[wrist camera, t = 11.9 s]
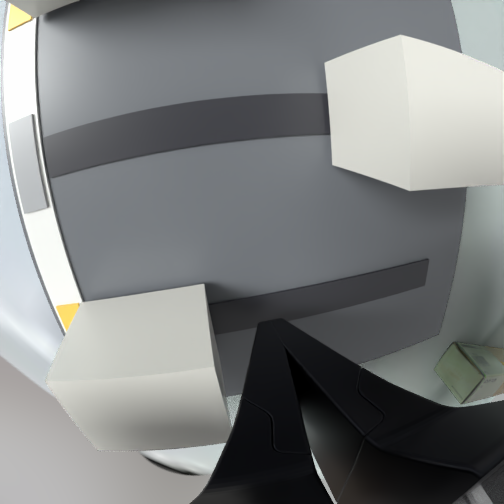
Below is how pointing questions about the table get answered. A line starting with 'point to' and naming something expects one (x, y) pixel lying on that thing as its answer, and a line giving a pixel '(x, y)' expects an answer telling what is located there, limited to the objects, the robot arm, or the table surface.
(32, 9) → the switch tab
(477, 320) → the table surface
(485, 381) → the medication box
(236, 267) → the switch panel
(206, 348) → the switch tab
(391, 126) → the switch tab
